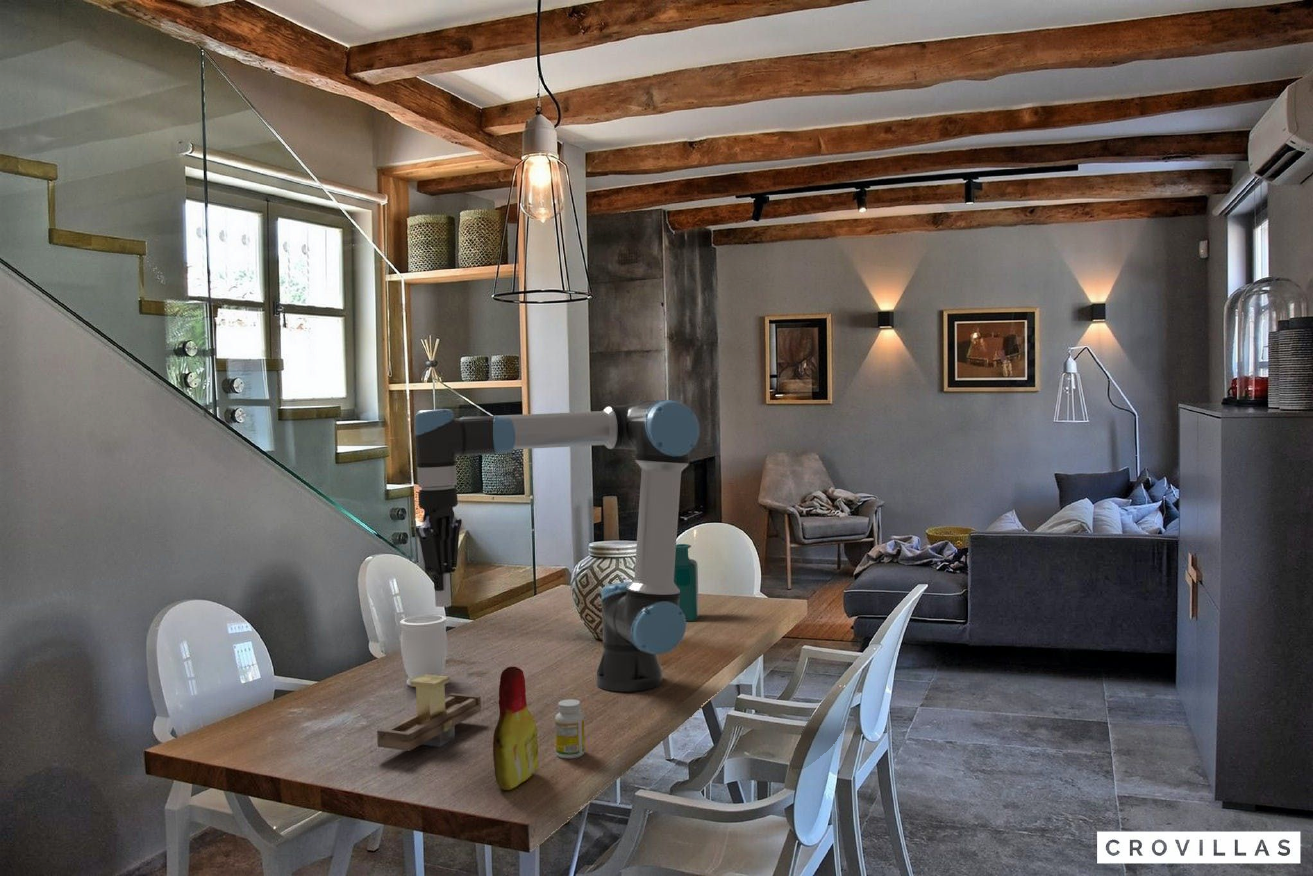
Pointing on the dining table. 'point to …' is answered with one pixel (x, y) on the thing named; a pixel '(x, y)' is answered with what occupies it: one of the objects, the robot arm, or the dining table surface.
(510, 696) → the bottle
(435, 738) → the brown long rectangular frame
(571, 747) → the supplement bottle
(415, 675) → the jar
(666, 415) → the robot arm
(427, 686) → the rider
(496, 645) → the dining table surface
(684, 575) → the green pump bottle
